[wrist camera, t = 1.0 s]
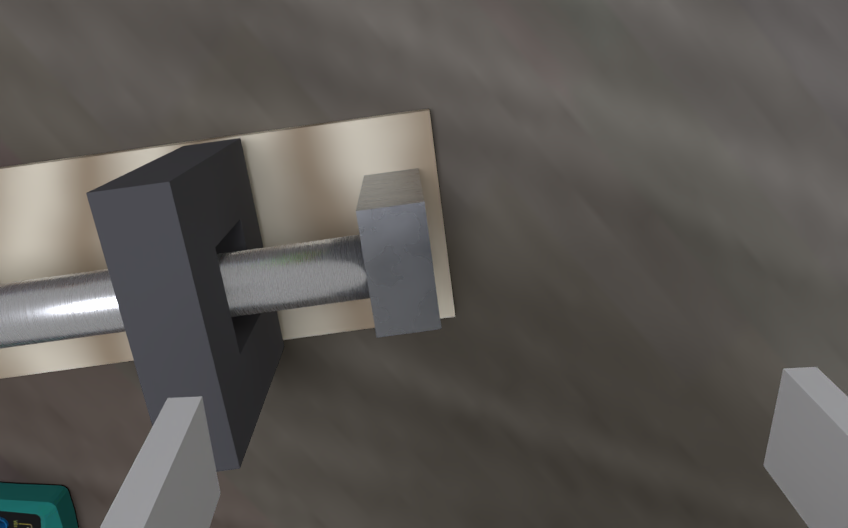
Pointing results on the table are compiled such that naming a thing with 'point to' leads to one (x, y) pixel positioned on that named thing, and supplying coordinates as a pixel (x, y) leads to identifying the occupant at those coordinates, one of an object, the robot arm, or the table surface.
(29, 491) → the digital multimeter
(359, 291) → the pipe
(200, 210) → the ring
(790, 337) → the table surface
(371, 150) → the board
